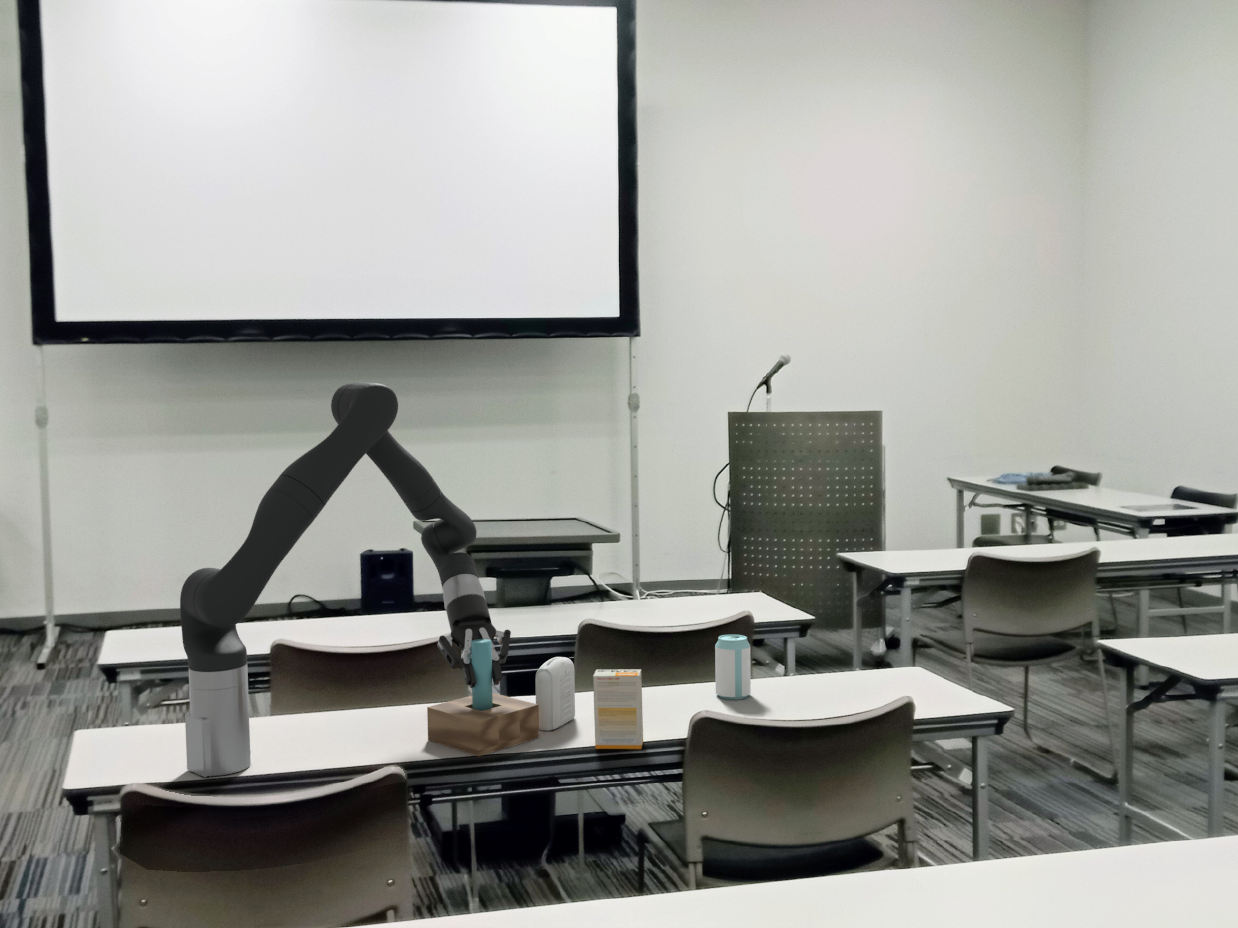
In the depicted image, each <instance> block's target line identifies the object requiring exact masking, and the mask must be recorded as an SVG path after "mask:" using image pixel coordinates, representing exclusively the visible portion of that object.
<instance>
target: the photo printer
mask: <svg viewBox="0 0 1238 928" xmlns="http://www.w3.org/2000/svg"><path fill="white" fill-rule="evenodd" d="M575 683H576V681H575V665H574V663H573V661H572V660H571V659H570V658H568V657H565V656H555V657H552V658H550V659H548V660H547V661H545V662H544V663H543V664H542V665H541V666H540V667H539V668H538V670H537V671H536V673H535V704H538V705H539V731H544V732H545V731H547V732H549V731H552V730H556V729H558V728H560V727H562V726H563V725H566V724H568V722H571V721H572V720H573V719H574V718H575V716H576V699H575V698H576V697H575V696H576V695H575V694H576V693H575V692H576V687H575V685H576V684H575Z"/></svg>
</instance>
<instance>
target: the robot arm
mask: <svg viewBox="0 0 1238 928" xmlns="http://www.w3.org/2000/svg"><path fill="white" fill-rule="evenodd" d="M330 407H331V408H330V409H331V413H332V416H333V419H334V421H335V422H336V424H337V426H336V427H335V428H334V429H333V431H331V432H330V434H329V435H327V437H326V438H325V439H323V440H322V441H321V442H319V443H318V444H317V445H315V446H314V447H312V448H311V449H309V450H308V451H306V452H305V453H304V454H302V455H301V456H299V457H298V458H297V459H296V460H294V461H293V462H292V463H291V464H289V465H288V466H287V467H286V468H285V469H284V470H283V471H282V472H281V473H280V475H279V476H278V477H277V478H276V480H275V481H274V483H272V485H271V486H270V487H269V488H268V489H267V491H266V493H265V494H264V495H263V497H262V499H261V500H260V502H259V504H258V507H257V509H256V512H255V516H254V518H253V522H252V523H251V524H252V525H251V528H250V530H249V533H248V535H247V537H246V539H245V540H244V542H243V543H242V544H241V546H240V547H239V549H238V550H237V551H236V552H235V554H233V556H232V557H231V558H230V559H229V560H228V561H227V563H226V564H225V565H224V566H223V567H222V568H216V567H204V568H199V569H197V570H195V571H194V572H192V573H191V574H190V575H188V577H187V578H186V580H185V581H184V583H183V586H182V588H181V591H180V596H179V597H180V598H179V599H180V600H179V607H180V608H179V612H180V613H179V614H180V627H181V638H182V645H183V649H184V652H185V654H186V657H187V666H188V686H189V687H188V690H189V694H188V695H189V712H186V713H185V714H184V720H185V723H184V724H185V725H184V726H185V727H184V728H185V745H186V746H185V749H186V769H187V770H186V771H189V772H191V773H193V772H194V774H196V775H198V776H200V775H201V776H200V777H202V776H203V777H202V778H208V777H207V776H209V777H212V776H213V777H214V776H224V775H230V774H231V775H232V774H235V773H238V772H241V771H244V770H246V769H247V768H249V767H250V766H251V755H252V754H251V752H252V751H251V738H250V737H251V735H250V734H251V732H250V712H249V711H250V709H249V708H250V705H249V703H250V702H249V680H248V679H249V676H248V674H249V673H248V651H247V647H246V645H245V644H244V643H243V642H242V641H243V640H241V638H240V636H239V634H238V630H237V624H239V623H240V622H241V621H243V620H244V619H245V618H246V617H247V616H248V614H249V613H250V611H251V610H252V609H253V607H254V606H255V604H256V603H257V601H258V599H259V598H260V596H261V595H262V593H263V591H264V590H265V587H266V586H267V584H268V583H269V582H270V579H271V578H272V577H273V575H274V573H275V571H276V570H277V569H278V567H279V565H280V564H281V563H282V561H283V560H284V559H285V558H286V556H287V555H288V554H289V553H290V551H291V550H292V549H293V548H294V546H295V545H296V544H297V542H298V541H299V540H300V538H301V537H302V535H303V534H304V533H305V531H307V530H308V528H309V527H310V526H311V525H312V523H314V521H315V519H317V517H318V516H319V514H321V512H322V511H323V509H324V508H325V506H326V505H327V503H328V502H329V501H330V499H331V498H332V496H333V495H334V494H335V492H336V491H337V490H338V489H339V487H340V486H341V485H342V483H343V482H344V481H345V479H347V478H348V476H349V475H350V473H351V472H352V470H353V469H354V468H355V467H356V466H357V464H358V462H359V461H360V460H361V459H362V458H364V456H365V455H366V456H368V458H369V459H370V460H371V461H372V462H373V463H374V464H375V466H376V467H377V468H378V469H379V470H380V472H381V473H382V474H383V475H384V477H385V478H386V480H387V481H388V482H389V484H391V486H392V487H393V489H394V490H395V492H396V493H397V495H398V496H399V498H400V499H401V500H402V502H403V503H404V505H405V506H406V507H407V509H408V510H409V512H410V513H411V515H412V516H413V517H414V519H415V520H417V521H420V522H425V521H431V520H435V521H433V522H432V523H430V524H427V525H426V526H425V527H424V528H423V530H422V532H421V537H420V540H421V544H422V546H423V549H424V550H425V552H426V553H427V554H428V556H429V557H430V558H431V560H432V562H433V564H434V566H435V568H436V569H437V572H438V575H439V576H438V577H439V580H440V584H441V588H442V593H443V594H442V598H443V603H444V606H443V607H444V610H445V611H446V616H447V620H448V625H449V629H450V634H448V635H447V636H445V635H440V636H439V638H438V642H437V646H436V647H437V648H438V650H439V651H440V653H441V654H442V657H444V659H445V661H446V662H447V663H448V665H449V666H450V668H451V669H454V670H456V669H461V671H462V674H463V677H464V681H465V684H466V686H468V687H469V688H470V689H472V688H474V687H475V684H476V679H475V675H474V670H473V666H472V663H471V641H472V640H477V639H489V640H491V644H492V684H493V686H497V685H498V686H499V684H500V682H501V680H502V679H503V678H502V677H503V672H502V668H501V665H504V664H505V663H506V661H507V658H508V656H509V649H510V642H511V641H510V640H511V634H512V631H511V630H510V629H505V630H504V631H501V630H497V629H496V627H495V626H494V625H493V623H492V619H491V616H490V611H489V607H488V603H487V599H486V596H485V593H484V589H483V586H482V585H481V582H480V579H479V575H478V571H477V567H476V563H475V560H474V558H473V557H472V556H471V555H470V554H468V553H467V552H461V551H460V550H463V549H465V548H467V547H469V546H471V545H472V544H474V542H475V541H476V538H477V533H478V532H477V527H476V525H475V522H474V521H473V520H472V518H471V517H470V516H469V515H468V514H467V513H466V512H464V511H463V510H462V509H461V508H460V507H459V506H457V505H456V504H455V503H454V502H452V501H451V500H450V499H449V498H448V497H447V496H446V495H445V494H444V493H443V492H442V490H441V489H440V487H439V485H438V484H437V482H436V481H435V479H434V478H433V476H432V475H431V474H430V472H429V471H428V470H427V469H426V468H425V466H424V465H423V464H422V463H421V462H420V461H419V460H418V459H416V457H414V455H412V454H411V453H410V452H409V451H408V450H407V449H406V448H404V446H402V444H401V443H399V442H398V441H397V439H396V438H394V436H393V435H392V434H391V433H390V431H389V429H390V428H391V426H392V425H393V424H394V422H395V420H396V419H397V414H398V410H399V401H398V398H397V395H396V392H394V390H393V389H392V388H391V387H390V386H387V385H385V384H382V383H377V382H351V383H345V384H343V385H341V386H340V387H338V388H337V389H336V391H335V392H334V394H333V395H332V398H331V403H330ZM459 551H460V552H459ZM495 638H496V639H497V642H498V644H499V645H500V648H499V649H500V652H499V653H498V652H497V650H496V649H495V648H496V647H495V645H494V642H493V641H494V639H495ZM453 644H454V645H455V646H456V647H457V648H458V649H460V650H461V658H460V656H459V654H458V653H457V652H456V650H455V649H454V648H453Z"/></svg>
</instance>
